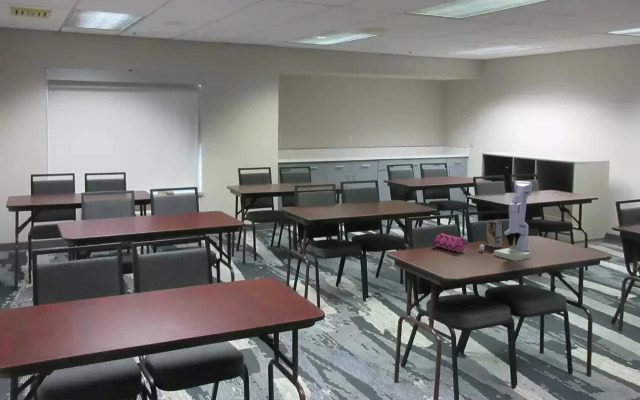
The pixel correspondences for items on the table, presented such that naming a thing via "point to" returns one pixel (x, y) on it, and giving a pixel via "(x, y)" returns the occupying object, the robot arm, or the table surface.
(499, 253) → the board
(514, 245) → the long pin
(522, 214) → the robot arm
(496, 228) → the coffee box
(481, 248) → the short pin
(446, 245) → the pink foam roller
